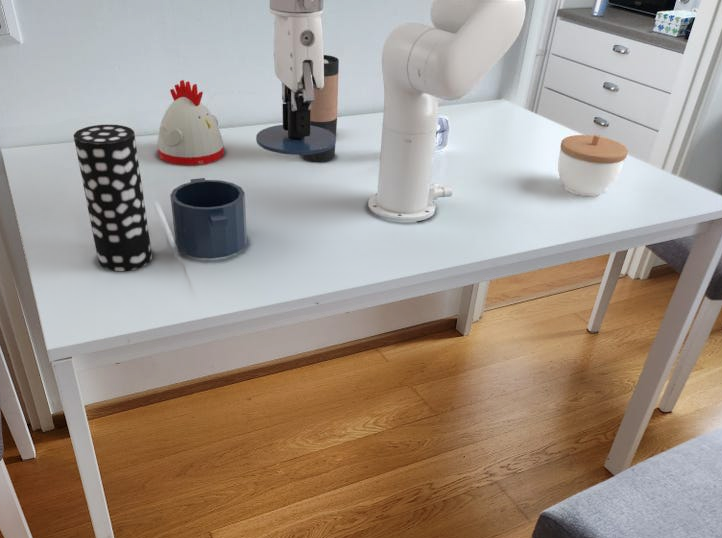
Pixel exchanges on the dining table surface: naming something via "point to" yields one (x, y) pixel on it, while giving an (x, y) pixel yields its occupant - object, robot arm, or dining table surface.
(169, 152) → the kitchen timer
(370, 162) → the dining table surface
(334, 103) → the travel mug
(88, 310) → the dining table surface
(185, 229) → the pot
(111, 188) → the spotted tube
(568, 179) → the lidded bowl
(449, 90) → the robot arm
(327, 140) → the lid
